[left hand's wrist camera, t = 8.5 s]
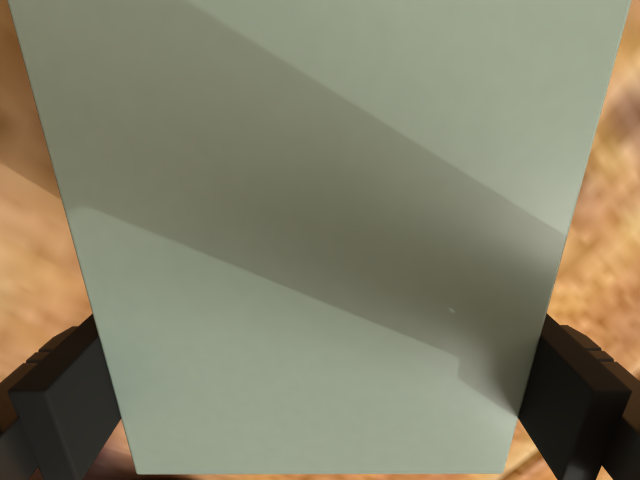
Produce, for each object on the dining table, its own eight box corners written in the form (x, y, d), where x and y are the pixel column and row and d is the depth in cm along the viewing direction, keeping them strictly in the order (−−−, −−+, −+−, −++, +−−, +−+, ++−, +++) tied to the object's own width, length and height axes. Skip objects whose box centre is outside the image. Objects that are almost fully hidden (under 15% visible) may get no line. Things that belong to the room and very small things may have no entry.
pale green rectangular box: (172, -145, 13) (-223, -824, 3) (466, -144, 13) (857, -819, 3) (223, 300, 20) (135, 476, 10) (415, 300, 20) (503, 475, 10)
